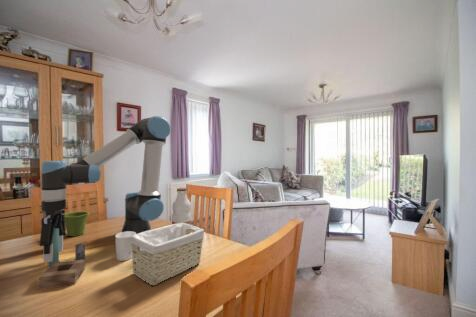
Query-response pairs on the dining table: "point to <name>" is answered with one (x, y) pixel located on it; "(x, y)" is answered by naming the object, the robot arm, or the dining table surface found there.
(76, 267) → the hole block
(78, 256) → the short pin
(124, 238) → the white cup
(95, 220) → the dining table surface
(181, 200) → the fruit juice
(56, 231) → the long pin
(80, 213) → the plant pot
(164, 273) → the storage basket
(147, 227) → the robot arm
